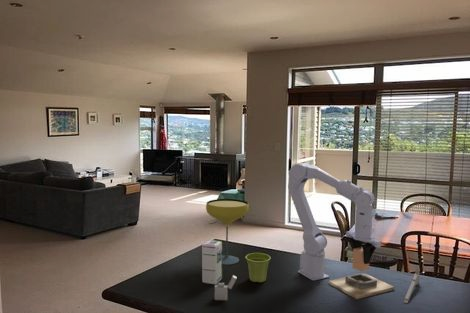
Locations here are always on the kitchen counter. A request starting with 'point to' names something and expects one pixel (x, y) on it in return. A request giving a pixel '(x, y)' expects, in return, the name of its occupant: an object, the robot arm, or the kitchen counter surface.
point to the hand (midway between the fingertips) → (361, 261)
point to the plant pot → (257, 266)
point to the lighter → (223, 289)
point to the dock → (360, 285)
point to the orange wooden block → (359, 260)
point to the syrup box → (212, 261)
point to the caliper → (412, 285)
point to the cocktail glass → (227, 218)
